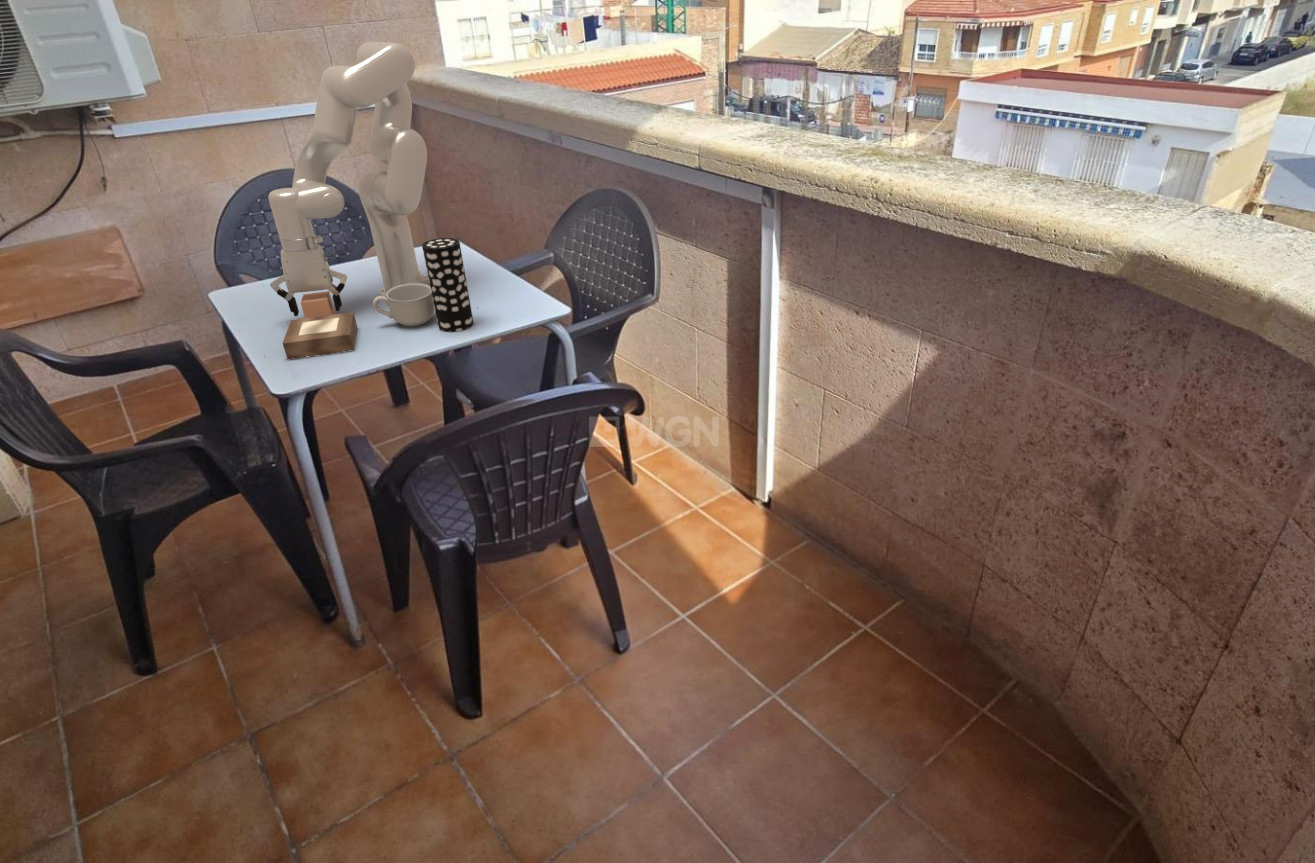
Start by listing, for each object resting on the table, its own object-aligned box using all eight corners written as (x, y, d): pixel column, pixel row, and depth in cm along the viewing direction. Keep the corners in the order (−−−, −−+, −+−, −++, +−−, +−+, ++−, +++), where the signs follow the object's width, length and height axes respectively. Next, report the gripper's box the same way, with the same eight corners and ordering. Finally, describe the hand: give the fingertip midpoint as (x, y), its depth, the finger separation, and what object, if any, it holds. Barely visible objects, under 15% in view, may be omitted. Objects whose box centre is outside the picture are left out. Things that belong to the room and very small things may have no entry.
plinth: (357, 327, 176) (353, 311, 174) (354, 350, 165) (349, 333, 163) (295, 335, 173) (290, 319, 171) (287, 359, 162) (282, 342, 159)
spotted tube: (441, 334, 171) (424, 251, 161) (435, 322, 178) (419, 241, 167) (476, 328, 174) (462, 245, 164) (469, 316, 181) (455, 236, 170)
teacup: (439, 311, 184) (433, 281, 180) (436, 328, 175) (429, 296, 171) (382, 316, 182) (375, 286, 178) (376, 333, 173) (368, 302, 169)
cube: (335, 313, 185) (329, 291, 182) (333, 322, 180) (326, 299, 177) (310, 316, 184) (303, 294, 180) (307, 325, 179) (300, 302, 176)
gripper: (339, 235, 177) (355, 302, 186) (261, 242, 173) (282, 311, 181) (336, 244, 171) (353, 313, 179) (256, 251, 167) (277, 321, 175)
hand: (317, 311), depth 180 cm, fingers open, 9 cm apart
